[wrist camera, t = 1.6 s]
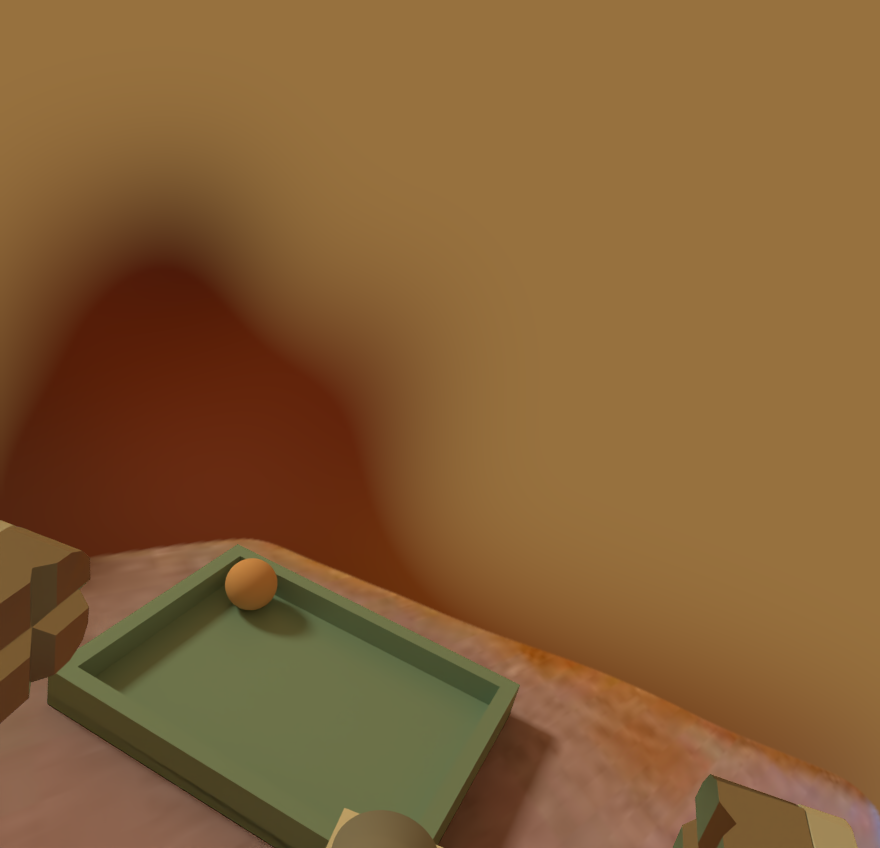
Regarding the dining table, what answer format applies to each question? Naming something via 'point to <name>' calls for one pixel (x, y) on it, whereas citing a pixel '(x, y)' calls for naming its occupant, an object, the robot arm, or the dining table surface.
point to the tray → (287, 706)
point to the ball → (251, 584)
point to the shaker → (379, 831)
